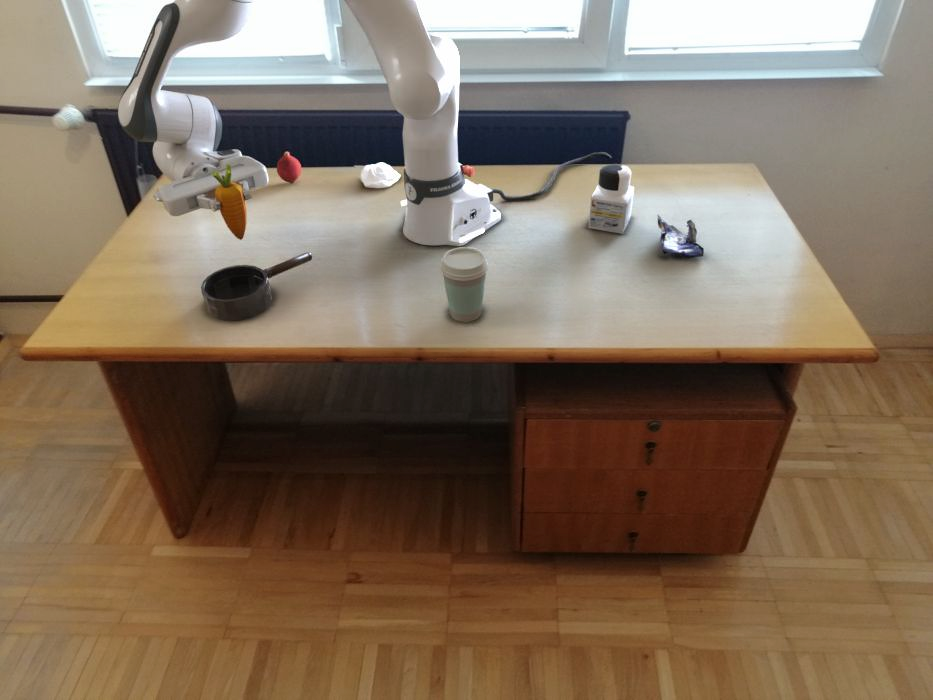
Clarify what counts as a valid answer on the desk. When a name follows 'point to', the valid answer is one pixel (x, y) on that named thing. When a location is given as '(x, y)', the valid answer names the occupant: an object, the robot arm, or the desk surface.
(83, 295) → the desk surface
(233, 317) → the pan
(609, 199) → the container
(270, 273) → the pan handle
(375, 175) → the white lumpy piece
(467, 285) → the coffee cup
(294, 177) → the onion
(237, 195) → the carrot
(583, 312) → the desk surface
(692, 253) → the snack package
